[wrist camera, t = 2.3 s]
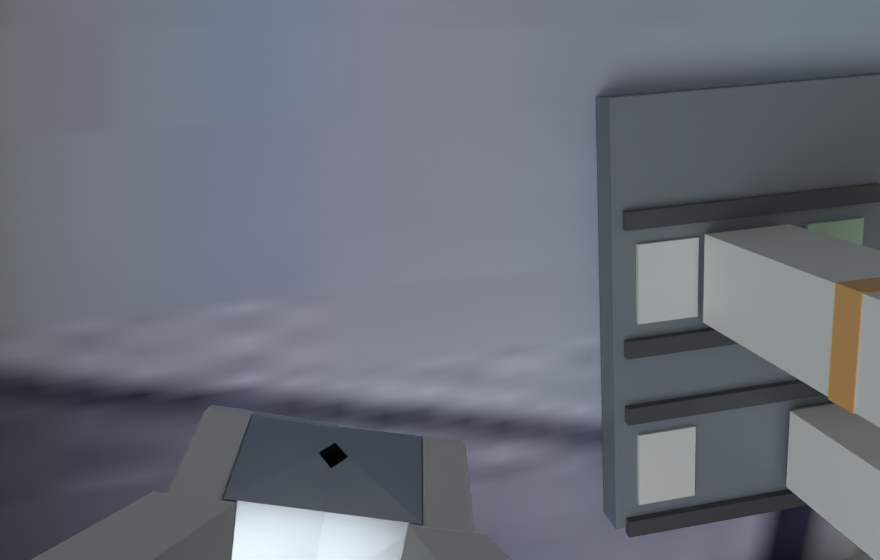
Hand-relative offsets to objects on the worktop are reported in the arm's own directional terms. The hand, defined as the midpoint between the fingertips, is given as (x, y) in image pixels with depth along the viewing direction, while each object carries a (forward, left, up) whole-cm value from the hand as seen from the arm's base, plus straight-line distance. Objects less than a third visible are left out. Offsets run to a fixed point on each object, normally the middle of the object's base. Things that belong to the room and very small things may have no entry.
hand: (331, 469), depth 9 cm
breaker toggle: (+5, +19, -21) cm, 29 cm away
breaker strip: (+7, +20, -23) cm, 31 cm away
